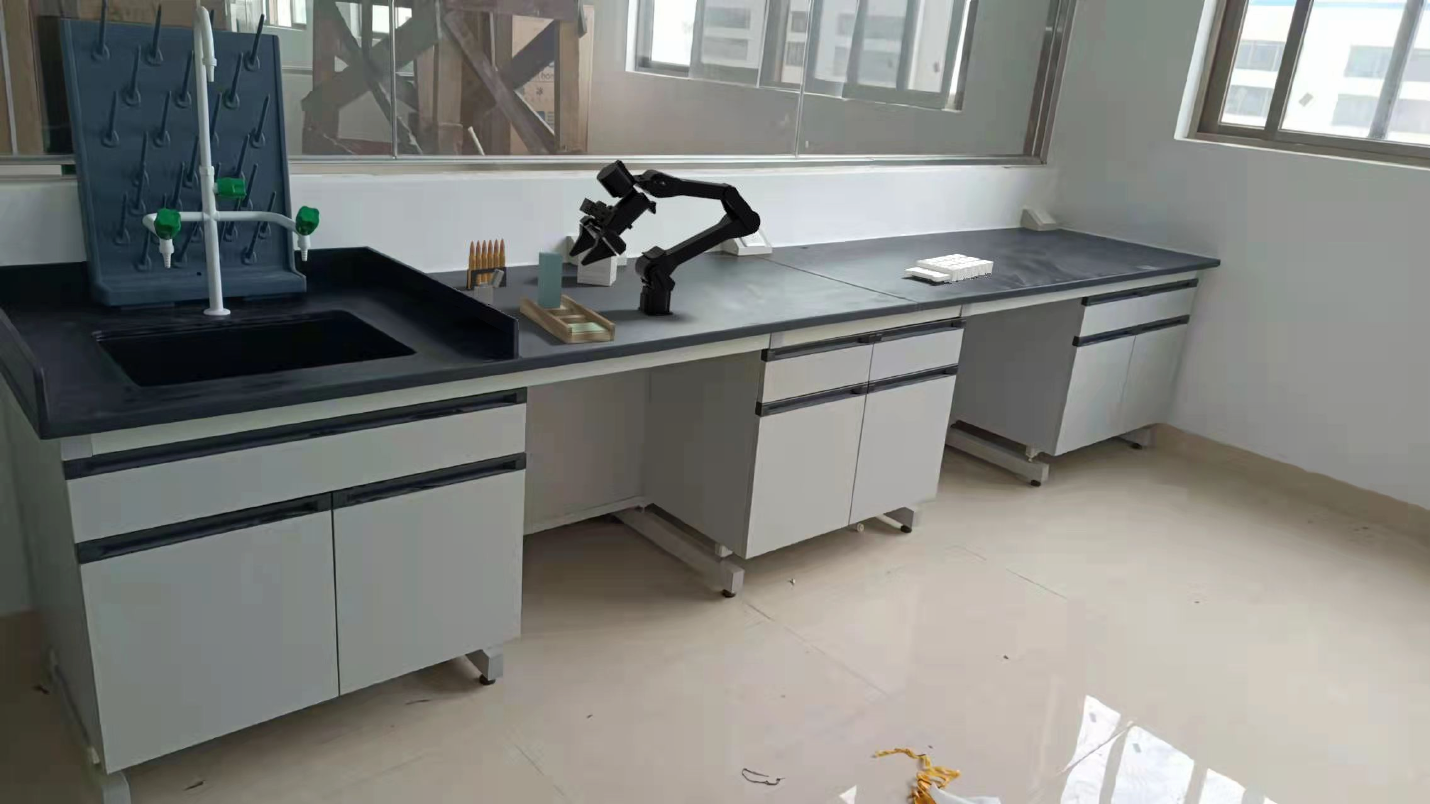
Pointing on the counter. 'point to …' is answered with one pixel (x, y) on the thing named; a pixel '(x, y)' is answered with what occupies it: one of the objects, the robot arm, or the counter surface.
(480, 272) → the ammunition clip
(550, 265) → the teal block
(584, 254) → the supplement box
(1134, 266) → the counter surface
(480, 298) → the lighter
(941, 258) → the organizer
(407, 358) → the counter surface
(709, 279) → the counter surface
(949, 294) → the counter surface
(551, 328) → the wooden slatted tray
